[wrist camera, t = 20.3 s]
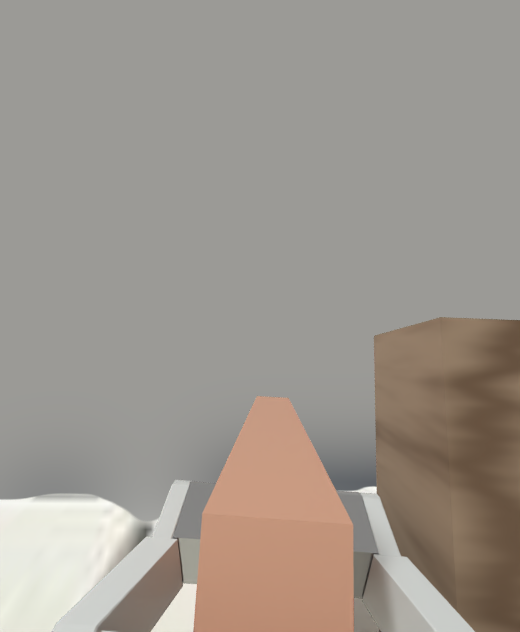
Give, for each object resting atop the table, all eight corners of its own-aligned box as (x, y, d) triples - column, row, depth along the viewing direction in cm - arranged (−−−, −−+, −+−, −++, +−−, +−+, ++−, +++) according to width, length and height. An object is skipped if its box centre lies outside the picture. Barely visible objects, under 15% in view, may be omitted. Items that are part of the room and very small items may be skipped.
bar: (287, 431, 27) (288, 398, 27) (354, 709, 5) (353, 524, 6) (255, 429, 27) (257, 396, 27) (188, 692, 5) (201, 513, 6)
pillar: (466, 703, 20) (445, 338, 25) (647, 1019, 11) (560, 322, 15) (380, 695, 21) (374, 335, 25) (478, 994, 11) (440, 317, 15)
